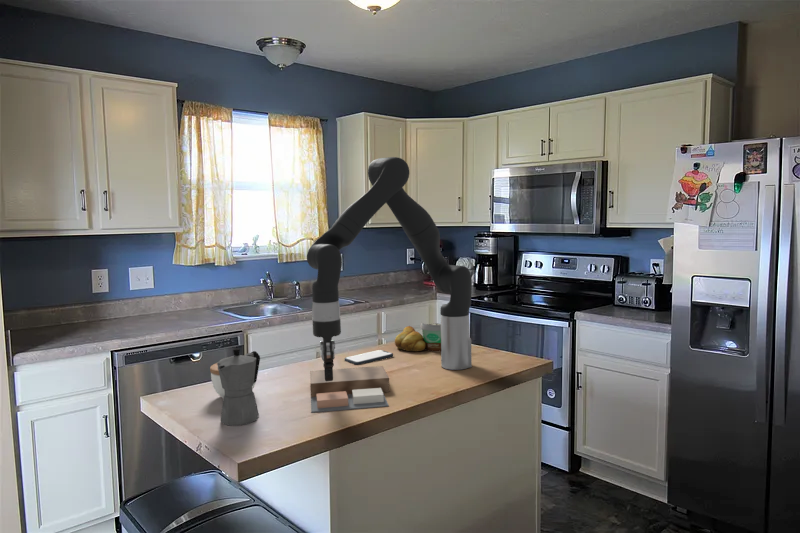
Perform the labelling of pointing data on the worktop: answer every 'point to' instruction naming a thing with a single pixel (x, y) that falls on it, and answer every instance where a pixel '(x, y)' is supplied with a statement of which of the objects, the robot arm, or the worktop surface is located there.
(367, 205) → the robot arm
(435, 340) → the food container
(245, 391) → the coffeepot
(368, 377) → the walnut board
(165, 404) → the worktop surface
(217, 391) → the lidded bowl
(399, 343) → the bread roll
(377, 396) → the tile cream
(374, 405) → the rubber mat
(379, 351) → the phone case
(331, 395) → the tile terracotta
